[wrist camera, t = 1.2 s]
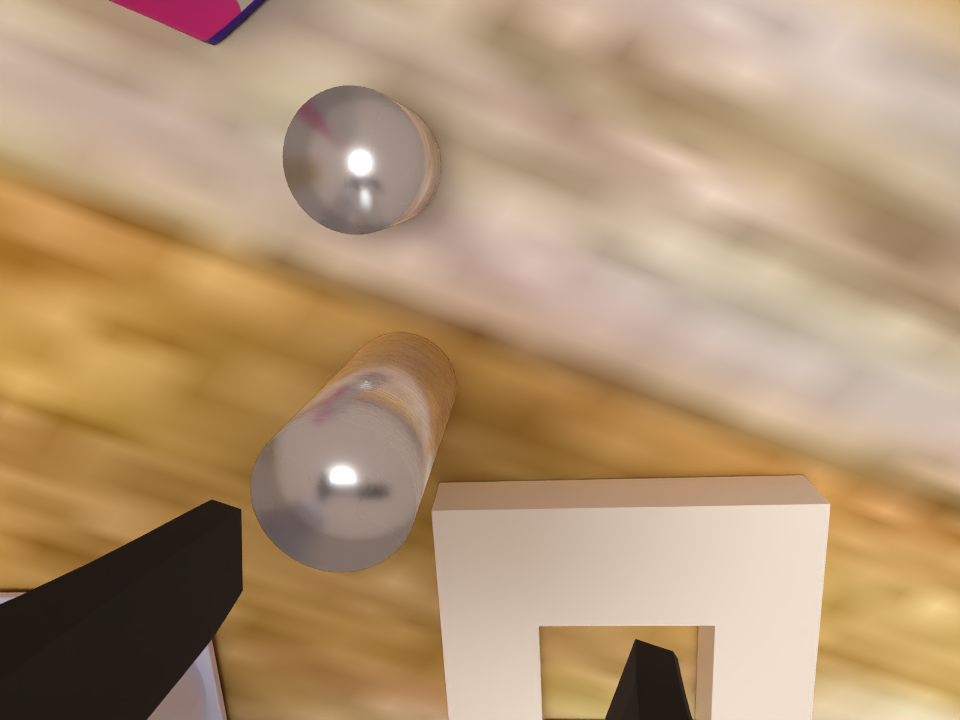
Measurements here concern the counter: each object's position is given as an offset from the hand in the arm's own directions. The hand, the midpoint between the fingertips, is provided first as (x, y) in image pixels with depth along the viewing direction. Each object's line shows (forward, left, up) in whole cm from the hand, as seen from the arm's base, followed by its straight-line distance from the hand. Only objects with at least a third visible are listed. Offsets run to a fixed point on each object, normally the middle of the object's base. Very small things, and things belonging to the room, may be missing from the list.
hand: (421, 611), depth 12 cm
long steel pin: (-2, +1, -11) cm, 11 cm away
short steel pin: (-2, +8, -11) cm, 13 cm away
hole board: (+5, -10, -11) cm, 15 cm away
